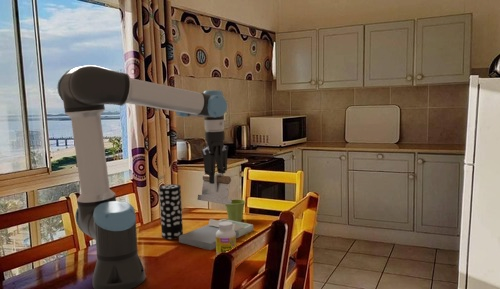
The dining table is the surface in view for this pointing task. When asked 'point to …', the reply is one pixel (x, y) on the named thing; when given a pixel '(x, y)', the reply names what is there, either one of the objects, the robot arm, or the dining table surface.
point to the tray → (241, 231)
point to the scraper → (222, 190)
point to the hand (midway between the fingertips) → (216, 190)
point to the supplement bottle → (225, 237)
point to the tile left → (214, 222)
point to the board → (202, 237)
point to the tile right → (237, 227)
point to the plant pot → (235, 210)
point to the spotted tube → (171, 211)
